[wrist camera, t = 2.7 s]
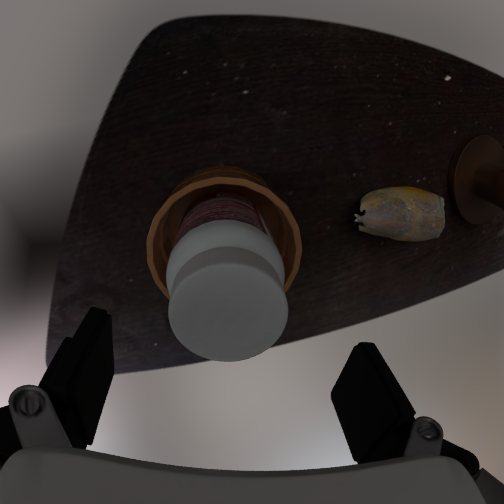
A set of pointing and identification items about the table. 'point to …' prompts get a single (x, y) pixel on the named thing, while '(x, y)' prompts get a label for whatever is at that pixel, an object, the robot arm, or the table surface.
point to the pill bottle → (226, 279)
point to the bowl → (213, 180)
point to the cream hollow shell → (402, 214)
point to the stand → (477, 179)
